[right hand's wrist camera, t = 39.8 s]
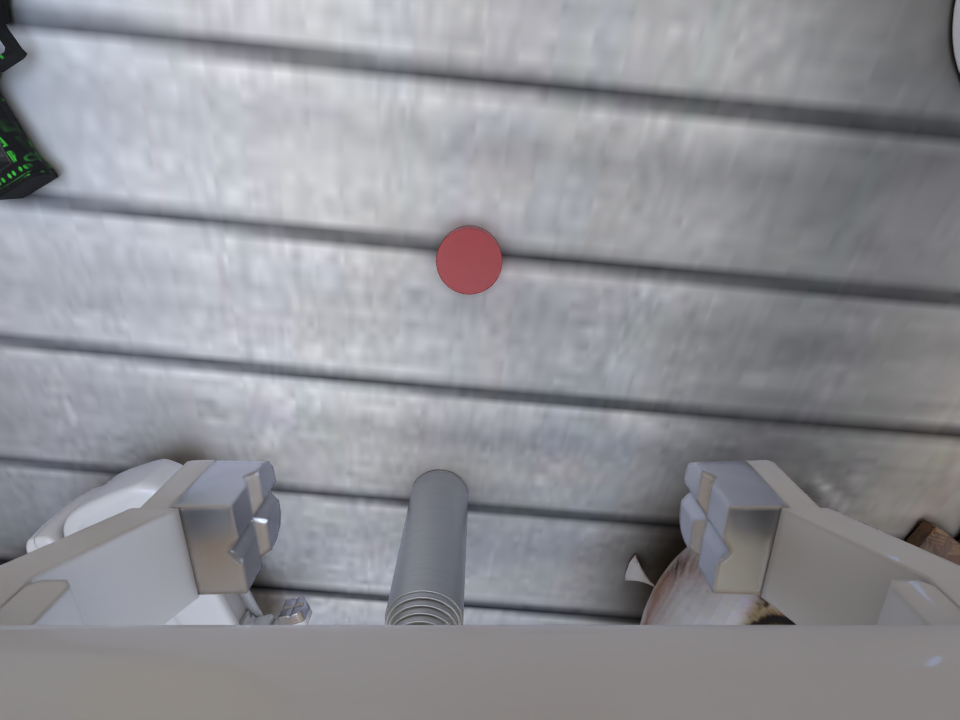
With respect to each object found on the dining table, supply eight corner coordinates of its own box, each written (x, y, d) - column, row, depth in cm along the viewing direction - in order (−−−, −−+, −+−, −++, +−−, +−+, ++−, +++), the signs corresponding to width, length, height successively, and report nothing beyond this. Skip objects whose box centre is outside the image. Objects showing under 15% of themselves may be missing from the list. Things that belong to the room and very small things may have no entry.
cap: (438, 224, 36) (436, 226, 34) (502, 226, 36) (503, 229, 34) (437, 287, 37) (435, 293, 36) (499, 289, 37) (500, 295, 36)
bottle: (475, 479, 43) (473, 667, 27) (457, 524, 44) (443, 727, 28) (421, 462, 42) (385, 643, 26) (404, 508, 44) (360, 706, 28)
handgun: (-47, 217, 33) (-246, -55, 28) (-8, 212, 36) (-182, -37, 31) (177, 119, 31) (11, -191, 26) (201, 122, 34) (55, -158, 29)
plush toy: (605, 475, 36) (970, 712, 23) (719, 436, 48) (1005, 577, 35) (531, 707, 43) (777, 995, 30) (647, 623, 55) (861, 803, 41)
